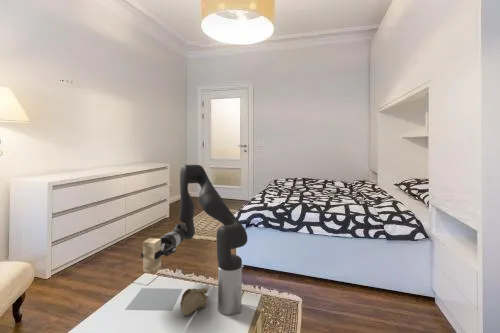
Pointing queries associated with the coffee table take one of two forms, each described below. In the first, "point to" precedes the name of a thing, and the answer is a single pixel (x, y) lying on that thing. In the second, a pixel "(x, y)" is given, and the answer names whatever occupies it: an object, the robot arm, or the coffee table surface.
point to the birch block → (151, 255)
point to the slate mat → (155, 299)
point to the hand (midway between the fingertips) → (148, 256)
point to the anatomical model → (193, 300)
